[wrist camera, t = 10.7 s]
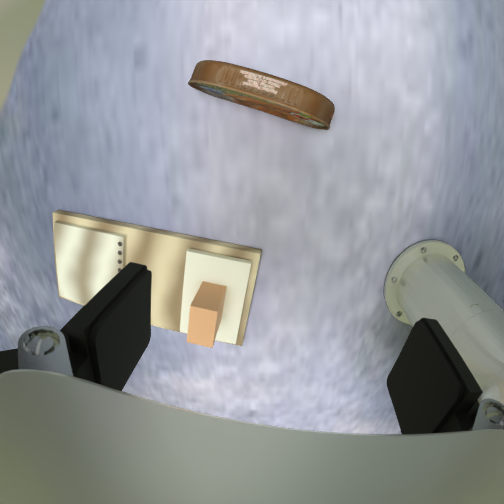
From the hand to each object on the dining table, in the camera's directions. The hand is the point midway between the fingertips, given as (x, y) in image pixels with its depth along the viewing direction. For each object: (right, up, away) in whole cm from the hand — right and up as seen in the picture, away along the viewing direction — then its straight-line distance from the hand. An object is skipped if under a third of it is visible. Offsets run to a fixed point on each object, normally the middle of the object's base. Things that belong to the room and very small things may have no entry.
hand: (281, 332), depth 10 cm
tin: (0, +20, +23) cm, 31 cm away
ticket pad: (-16, 0, +32) cm, 36 cm away
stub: (-6, -3, +30) cm, 31 cm away
